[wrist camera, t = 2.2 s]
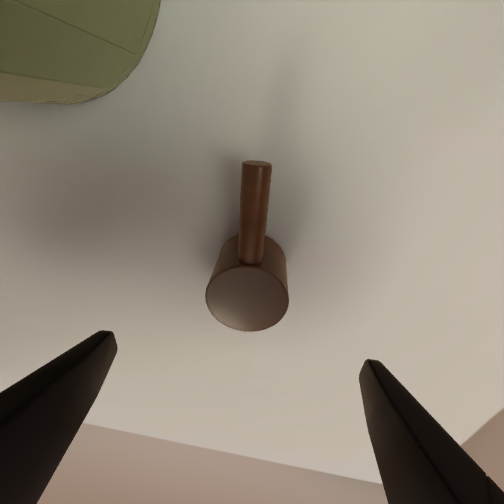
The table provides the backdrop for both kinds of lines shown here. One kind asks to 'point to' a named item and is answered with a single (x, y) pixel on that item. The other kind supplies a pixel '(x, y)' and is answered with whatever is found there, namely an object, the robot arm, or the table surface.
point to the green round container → (70, 47)
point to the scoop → (250, 263)
